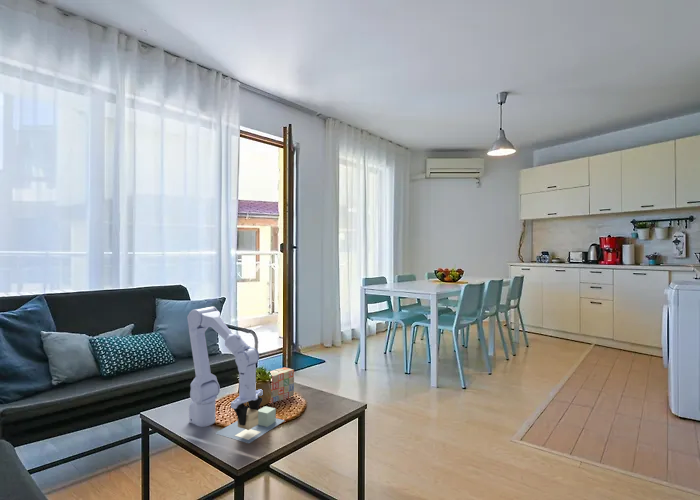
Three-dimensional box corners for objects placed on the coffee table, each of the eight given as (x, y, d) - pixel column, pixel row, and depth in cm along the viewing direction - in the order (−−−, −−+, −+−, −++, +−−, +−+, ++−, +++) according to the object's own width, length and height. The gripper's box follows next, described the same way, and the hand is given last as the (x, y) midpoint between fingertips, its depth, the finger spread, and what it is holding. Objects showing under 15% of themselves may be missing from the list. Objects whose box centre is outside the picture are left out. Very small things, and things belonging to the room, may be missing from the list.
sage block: (256, 424, 149) (256, 410, 149) (265, 419, 154) (265, 406, 153) (267, 426, 147) (267, 413, 147) (275, 421, 151) (275, 408, 151)
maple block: (237, 427, 140) (237, 412, 140) (247, 421, 145) (247, 407, 145) (248, 430, 138) (248, 415, 138) (258, 424, 142) (258, 410, 142)
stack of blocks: (255, 411, 163) (255, 381, 163) (246, 407, 167) (246, 378, 166) (294, 396, 179) (294, 369, 179) (284, 393, 183) (284, 366, 183)
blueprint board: (214, 435, 142) (214, 432, 142) (252, 414, 160) (252, 412, 160) (249, 445, 135) (249, 443, 135) (285, 422, 152) (285, 420, 152)
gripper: (241, 391, 133) (242, 432, 133) (269, 379, 146) (269, 416, 146) (226, 388, 136) (226, 428, 136) (254, 376, 149) (255, 412, 149)
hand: (247, 421), depth 141 cm, fingers closed on maple block, 5 cm apart
